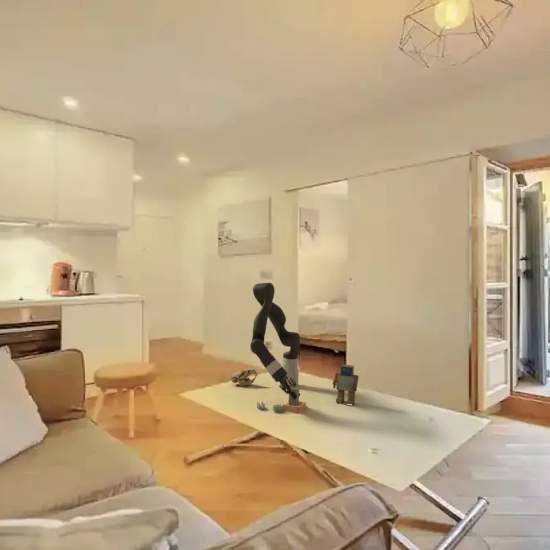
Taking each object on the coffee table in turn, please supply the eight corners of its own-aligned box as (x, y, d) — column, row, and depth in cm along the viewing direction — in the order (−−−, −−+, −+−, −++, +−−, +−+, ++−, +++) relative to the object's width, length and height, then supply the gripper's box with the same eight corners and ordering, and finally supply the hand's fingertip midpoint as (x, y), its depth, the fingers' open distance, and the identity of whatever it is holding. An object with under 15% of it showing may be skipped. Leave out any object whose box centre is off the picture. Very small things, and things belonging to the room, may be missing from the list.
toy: (331, 404, 228) (332, 366, 227) (336, 399, 236) (337, 363, 236) (355, 407, 223) (356, 369, 223) (358, 402, 232) (359, 366, 232)
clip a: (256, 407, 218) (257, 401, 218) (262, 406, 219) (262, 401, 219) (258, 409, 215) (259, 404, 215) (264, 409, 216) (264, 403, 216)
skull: (258, 384, 255) (254, 368, 255) (233, 391, 255) (228, 375, 256) (259, 380, 265) (255, 365, 265) (235, 387, 265) (231, 371, 265)
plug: (291, 402, 221) (292, 380, 220) (298, 404, 219) (299, 381, 219) (288, 405, 217) (289, 382, 217) (296, 406, 215) (296, 383, 215)
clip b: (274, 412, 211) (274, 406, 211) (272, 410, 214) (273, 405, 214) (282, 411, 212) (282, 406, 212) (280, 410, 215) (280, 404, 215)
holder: (279, 410, 215) (279, 404, 215) (287, 404, 225) (287, 399, 225) (300, 413, 211) (300, 408, 211) (307, 407, 221) (307, 401, 221)
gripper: (276, 369, 214) (298, 396, 209) (286, 363, 227) (307, 389, 223) (266, 378, 216) (287, 405, 211) (276, 372, 229) (297, 398, 225)
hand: (297, 397), depth 217 cm, fingers closed on plug, 4 cm apart
